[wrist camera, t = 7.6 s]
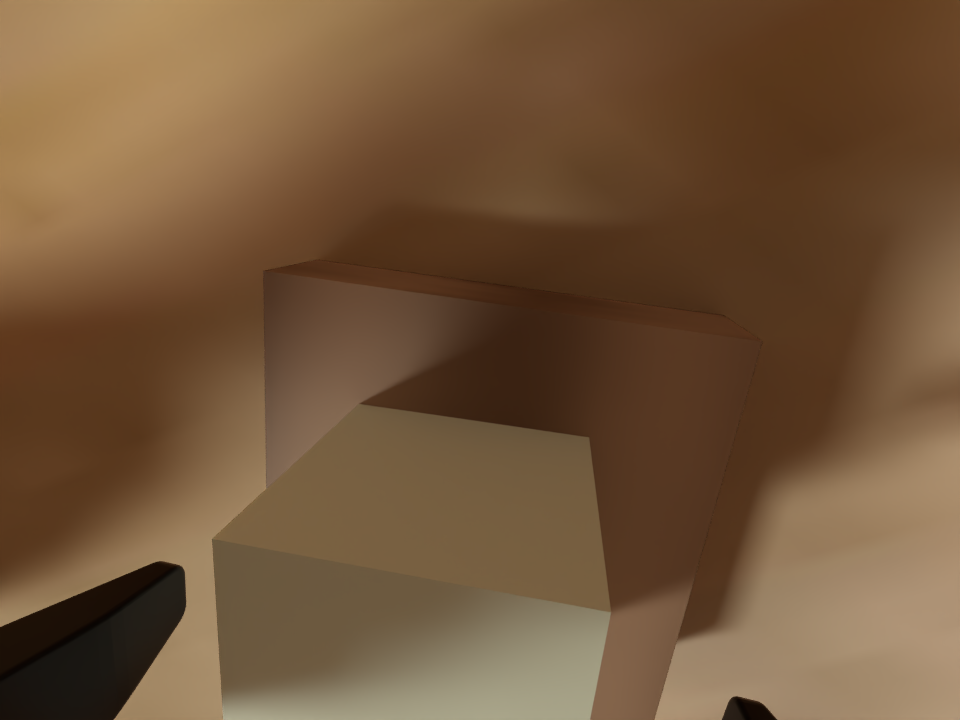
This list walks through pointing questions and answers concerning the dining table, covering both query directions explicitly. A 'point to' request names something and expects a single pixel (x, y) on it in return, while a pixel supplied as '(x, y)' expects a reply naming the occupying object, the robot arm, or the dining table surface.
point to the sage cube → (416, 577)
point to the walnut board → (534, 413)
